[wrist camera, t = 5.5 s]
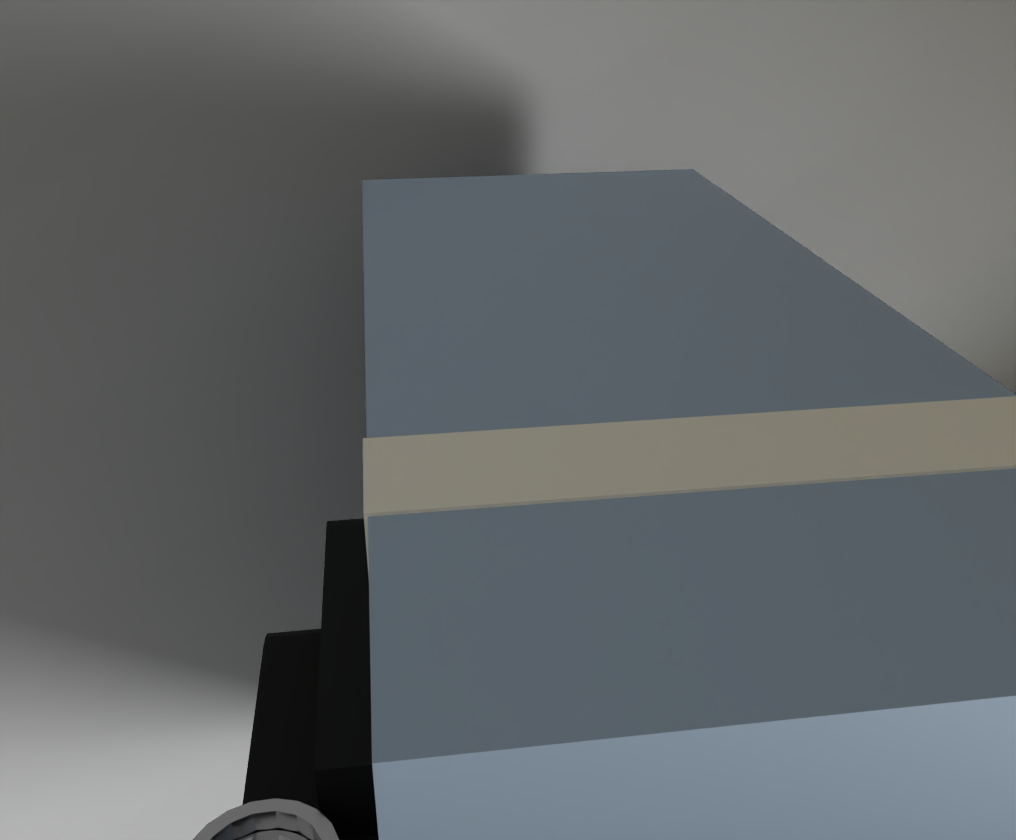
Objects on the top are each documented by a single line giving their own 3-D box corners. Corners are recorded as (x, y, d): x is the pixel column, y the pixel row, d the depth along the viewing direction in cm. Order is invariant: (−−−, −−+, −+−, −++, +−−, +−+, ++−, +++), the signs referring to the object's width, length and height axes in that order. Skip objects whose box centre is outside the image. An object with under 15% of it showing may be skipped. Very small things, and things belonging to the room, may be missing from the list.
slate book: (694, 168, 12) (1398, 653, 4) (643, 770, 16) (918, 1571, 8) (359, 178, 11) (368, 760, 3) (403, 796, 16) (449, 1673, 8)
